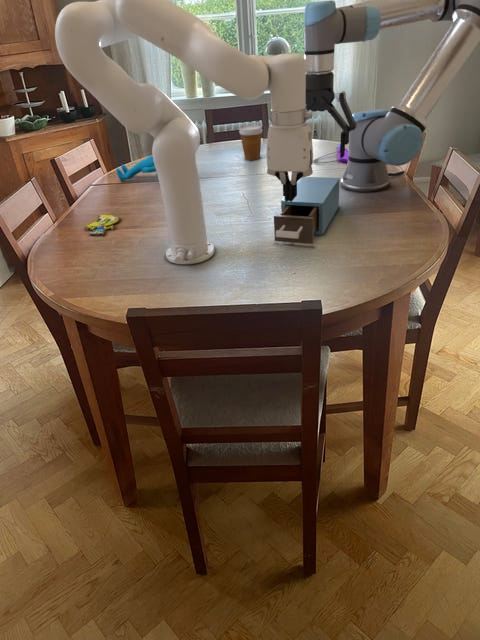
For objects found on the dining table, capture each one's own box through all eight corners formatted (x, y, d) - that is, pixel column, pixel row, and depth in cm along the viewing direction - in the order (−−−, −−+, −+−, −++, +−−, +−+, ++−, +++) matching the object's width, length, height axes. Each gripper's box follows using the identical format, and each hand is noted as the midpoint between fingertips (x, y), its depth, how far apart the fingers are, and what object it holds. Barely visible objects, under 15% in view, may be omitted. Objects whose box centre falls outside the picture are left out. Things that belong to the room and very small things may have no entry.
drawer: (306, 254, 117) (306, 227, 113) (267, 250, 121) (266, 224, 117) (329, 215, 137) (330, 191, 133) (295, 213, 140) (295, 190, 137)
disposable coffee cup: (238, 160, 197) (235, 130, 191) (244, 154, 205) (242, 125, 198) (260, 160, 194) (258, 129, 188) (266, 154, 202) (264, 124, 195)
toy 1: (75, 232, 142) (99, 213, 154) (76, 234, 142) (100, 215, 154) (106, 232, 139) (128, 213, 151) (107, 235, 140) (128, 216, 152)
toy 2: (125, 157, 192) (192, 136, 181) (136, 182, 197) (202, 163, 186) (107, 170, 178) (179, 147, 168) (120, 197, 183) (190, 177, 173)
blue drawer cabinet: (322, 235, 128) (322, 203, 124) (282, 232, 132) (281, 200, 127) (338, 207, 145) (339, 177, 140) (302, 205, 149) (302, 176, 144)
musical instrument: (326, 170, 180) (372, 154, 183) (325, 164, 178) (371, 148, 182) (297, 161, 200) (339, 146, 204) (296, 155, 199) (338, 141, 202)
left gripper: (325, 114, 105) (324, 195, 115) (261, 115, 111) (265, 192, 120) (318, 121, 100) (317, 206, 110) (250, 121, 105) (255, 203, 115)
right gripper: (370, 68, 123) (365, 153, 134) (277, 72, 131) (279, 151, 143) (365, 72, 117) (360, 160, 129) (268, 76, 126) (272, 158, 137)
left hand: (290, 199), depth 115 cm, fingers closed
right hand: (318, 156), depth 136 cm, fingers open, 13 cm apart
